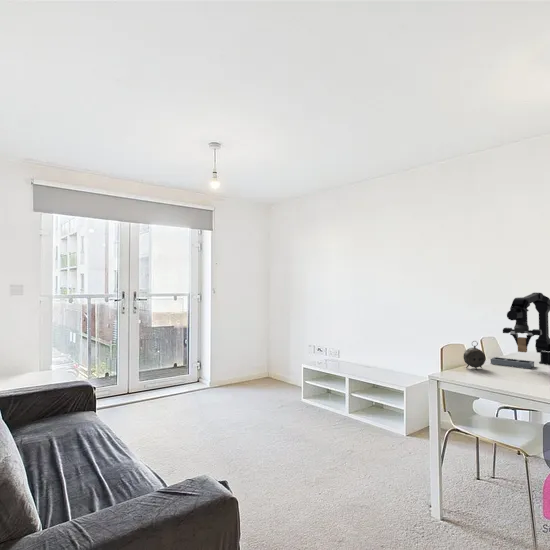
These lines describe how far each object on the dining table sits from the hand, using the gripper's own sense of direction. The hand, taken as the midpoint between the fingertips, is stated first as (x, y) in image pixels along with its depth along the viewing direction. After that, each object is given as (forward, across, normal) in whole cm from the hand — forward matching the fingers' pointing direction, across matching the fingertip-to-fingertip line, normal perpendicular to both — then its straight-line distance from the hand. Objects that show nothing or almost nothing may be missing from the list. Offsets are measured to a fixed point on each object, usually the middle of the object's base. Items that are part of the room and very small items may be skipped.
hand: (522, 346), depth 225 cm
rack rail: (+13, -7, +6) cm, 16 cm away
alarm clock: (+13, -20, -20) cm, 31 cm away
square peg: (+3, 0, 0) cm, 3 cm away
